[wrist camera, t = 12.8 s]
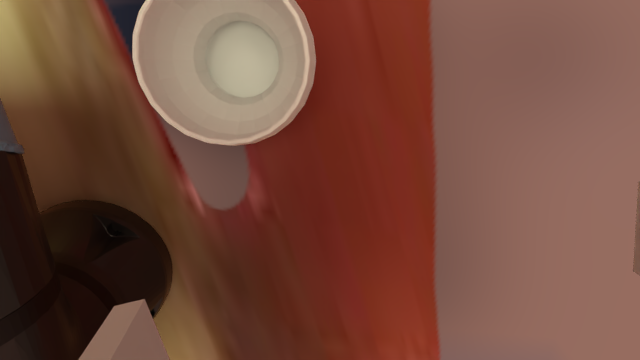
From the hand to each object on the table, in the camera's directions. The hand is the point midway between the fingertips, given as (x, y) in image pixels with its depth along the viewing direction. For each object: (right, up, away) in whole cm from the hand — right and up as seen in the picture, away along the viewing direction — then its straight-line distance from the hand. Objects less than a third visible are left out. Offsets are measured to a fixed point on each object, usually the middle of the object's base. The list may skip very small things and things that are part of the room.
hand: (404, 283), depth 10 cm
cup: (-9, +14, +25) cm, 30 cm away
